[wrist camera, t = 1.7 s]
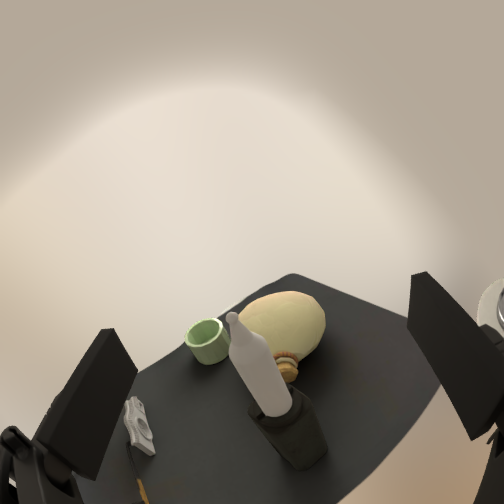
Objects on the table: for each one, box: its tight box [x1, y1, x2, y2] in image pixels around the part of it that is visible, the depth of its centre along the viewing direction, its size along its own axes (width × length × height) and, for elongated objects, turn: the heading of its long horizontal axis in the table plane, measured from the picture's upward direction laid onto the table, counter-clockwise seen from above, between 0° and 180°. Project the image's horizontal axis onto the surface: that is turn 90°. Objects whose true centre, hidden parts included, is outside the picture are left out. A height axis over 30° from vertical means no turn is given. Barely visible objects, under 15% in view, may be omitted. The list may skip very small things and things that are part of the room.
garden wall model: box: [124, 396, 155, 456], centre depth 36 cm, size 12×2×6 cm, turn 27°
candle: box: [226, 312, 327, 471], centre depth 23 cm, size 5×5×25 cm
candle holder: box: [185, 318, 231, 365], centre depth 51 cm, size 8×8×5 cm
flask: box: [238, 291, 326, 383], centre depth 43 cm, size 9×16×18 cm
